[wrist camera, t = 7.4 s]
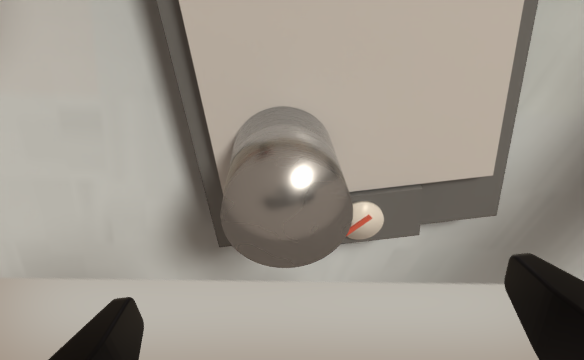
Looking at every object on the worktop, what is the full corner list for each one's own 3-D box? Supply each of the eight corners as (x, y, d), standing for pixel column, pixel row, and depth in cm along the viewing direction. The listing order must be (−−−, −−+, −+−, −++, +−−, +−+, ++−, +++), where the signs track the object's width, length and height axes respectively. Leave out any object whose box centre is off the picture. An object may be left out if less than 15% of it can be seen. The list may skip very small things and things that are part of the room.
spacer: (329, 100, 16) (351, 150, 12) (334, 190, 18) (354, 260, 14) (224, 112, 16) (207, 167, 12) (242, 201, 18) (233, 274, 14)
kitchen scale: (531, -130, 15) (594, -152, 12) (478, 195, 22) (509, 230, 19) (149, -83, 15) (120, -94, 12) (223, 225, 22) (216, 263, 20)
